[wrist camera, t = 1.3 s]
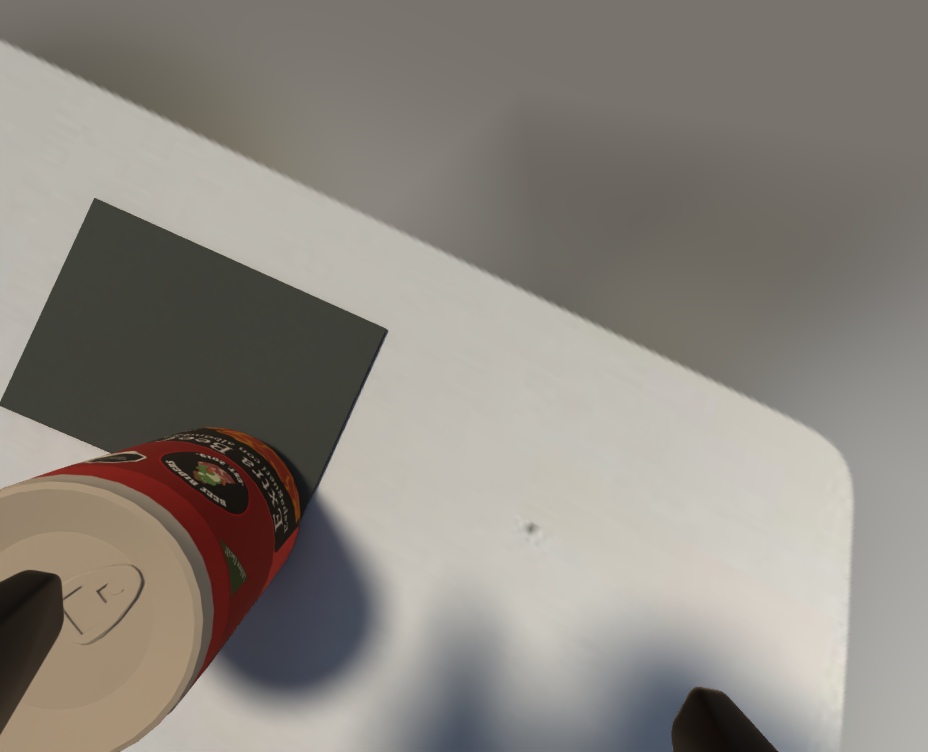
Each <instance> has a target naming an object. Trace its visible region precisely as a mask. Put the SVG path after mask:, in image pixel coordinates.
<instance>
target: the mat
mask: <svg viewBox="0 0 928 752" xmlns="http://www.w3.org/2000/svg"><path fill="white" fill-rule="evenodd" d="M385 331H386V329H385V328H383V327H381V326H379V325H377V324H374V323H372V322H370V321H368V320H365V319H363V318H361V317H359V316H357V315H354V314H352V313H350V312H348V311H345V310H343V309H341V308H339V307H336V306H334V305H332V304H330V303H328V302H325V301H323V300H321V299H319V298H316V297H314V296H312V295H310V294H308V293H305V292H303V291H301V290H299V289H296V288H294V287H292V286H290V285H287V284H285V283H283V282H281V281H279V280H276V279H274V278H272V277H270V276H267V275H265V274H263V273H261V272H259V271H256V270H254V269H252V268H250V267H247V266H245V265H243V264H241V263H238V262H236V261H234V260H232V259H230V258H227V257H225V256H223V255H221V254H218V253H216V252H214V251H212V250H210V249H207V248H205V247H203V246H201V245H198V244H196V243H194V242H192V241H189V240H187V239H185V238H183V237H181V236H178V235H176V234H174V233H172V232H169V231H167V230H165V229H163V228H161V227H158V226H156V225H154V224H152V223H149V222H147V221H145V220H143V219H140V218H138V217H136V216H134V215H132V214H129V213H127V212H125V211H123V210H120V209H118V208H116V207H114V206H112V205H109V204H107V203H105V202H103V201H100V200H98V199H96V198H94V200H93V202H92V204H91V207H90V209H89V211H88V213H87V215H86V217H85V220H84V222H83V224H82V226H81V228H80V230H79V233H78V235H77V237H76V239H75V241H74V243H73V246H72V248H71V250H70V252H69V254H68V256H67V259H66V261H65V263H64V265H63V267H62V269H61V272H60V274H59V276H58V278H57V280H56V282H55V285H54V287H53V289H52V291H51V293H50V295H49V298H48V300H47V302H46V304H45V306H44V308H43V311H42V313H41V315H40V317H39V319H38V321H37V324H36V326H35V328H34V330H33V332H32V334H31V337H30V339H29V341H28V343H27V345H26V347H25V350H24V352H23V354H22V356H21V358H20V360H19V362H18V365H17V367H16V369H15V371H14V373H13V375H12V378H11V380H10V382H9V384H8V386H7V388H6V391H5V393H4V395H3V397H2V399H1V401H0V406H2V407H4V408H6V409H9V410H11V411H13V412H16V413H18V414H20V415H23V416H25V417H28V418H30V419H32V420H35V421H37V422H39V423H42V424H44V425H46V426H49V427H51V428H53V429H56V430H58V431H60V432H63V433H65V434H67V435H70V436H72V437H74V438H77V439H79V440H81V441H84V442H86V443H88V444H91V445H93V446H95V447H98V448H100V449H102V450H105V451H107V452H109V453H114V452H117V451H120V450H124V449H127V448H130V447H134V446H137V445H140V444H144V443H147V442H150V441H153V440H157V439H160V438H163V437H167V436H170V435H173V434H176V433H180V432H183V431H186V430H190V429H198V428H205V427H213V428H227V429H231V430H235V431H239V432H243V433H245V434H247V435H249V436H251V437H253V438H255V439H257V440H259V441H261V442H263V443H264V444H265V445H267V446H268V447H269V448H271V449H272V450H273V451H275V452H276V454H277V455H278V456H279V457H280V458H281V459H282V460H283V461H284V463H285V464H286V466H287V467H288V469H289V471H290V473H291V474H292V476H293V479H294V482H295V485H296V488H297V491H298V495H299V504H300V520H301V518H302V516H303V514H304V511H305V509H306V507H307V505H308V503H309V500H310V498H311V496H312V494H313V491H314V489H315V487H316V485H317V483H318V480H319V478H320V476H321V474H322V471H323V469H324V467H325V465H326V463H327V460H328V458H329V456H330V454H331V451H332V449H333V447H334V445H335V443H336V440H337V438H338V436H339V434H340V431H341V429H342V427H343V425H344V423H345V420H346V418H347V416H348V414H349V411H350V409H351V407H352V405H353V403H354V400H355V398H356V396H357V394H358V391H359V389H360V387H361V385H362V383H363V380H364V378H365V376H366V374H367V371H368V369H369V367H370V365H371V363H372V360H373V358H374V356H375V354H376V351H377V349H378V347H379V345H380V343H381V340H382V338H383V336H384V334H385ZM299 523H300V521H299Z"/></svg>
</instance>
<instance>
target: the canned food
mask: <svg viewBox="0 0 928 752" xmlns="http://www.w3.org/2000/svg"><path fill="white" fill-rule="evenodd" d="M299 521H300V504H299V495H298V491H297V488H296V485H295V482H294V479H293V476H292V474H291V473H290V471H289V469H288V467H287V466H286V464H285V463H284V461H283V460H282V459H281V458H280V457H279V456H278V455H277V454H276V452H275V451H273V450H272V449H271V448H269V447H268V446H267V445H265V444H264V443H263V442H261V441H259V440H257V439H255V438H253V437H251V436H249V435H247V434H245V433H243V432H239V431H235V430H231V429H227V428H213V427H205V428H198V429H190V430H186V431H183V432H180V433H176V434H173V435H170V436H167V437H163V438H160V439H157V440H153V441H150V442H147V443H144V444H140V445H137V446H134V447H130V448H127V449H124V450H120V451H117V452H114V453H111V454H107V455H104V456H101V457H97V458H94V459H91V460H88V461H84V462H81V463H78V464H74V465H71V466H68V467H64V468H61V469H58V470H55V471H52V472H49V473H46V474H43V475H40V476H37V477H34V478H31V479H29V480H26V481H23V482H20V483H17V484H14V485H11V486H8V487H5V488H3V489H1V490H0V582H1V581H3V580H5V579H7V578H9V577H11V576H13V575H15V574H17V573H19V572H21V571H24V570H37V571H43V572H48V573H54V574H57V575H58V576H59V577H60V579H61V582H62V593H63V608H64V622H63V626H62V629H61V632H60V634H59V636H58V638H57V640H56V641H55V643H54V645H53V647H52V648H51V650H50V652H49V653H48V655H47V657H46V658H45V660H44V662H43V664H42V665H41V667H40V669H39V670H38V672H37V674H36V675H35V677H34V679H33V681H32V682H31V684H30V686H29V687H28V689H27V691H26V692H25V694H24V696H23V698H22V699H21V701H20V703H19V704H18V706H17V708H16V709H15V711H14V713H13V715H12V716H11V718H10V720H9V721H8V723H7V725H6V726H5V728H4V730H3V732H2V733H1V735H0V752H120V751H122V750H124V749H125V748H127V747H129V746H131V745H132V744H134V743H136V742H138V741H139V740H140V739H141V738H143V737H144V736H145V735H146V734H147V733H149V732H150V731H151V730H152V729H153V728H155V727H156V726H157V725H158V724H159V723H161V721H162V720H163V719H164V718H165V717H166V716H167V715H168V714H169V713H170V712H172V711H173V709H174V708H175V707H176V706H177V705H178V703H179V702H180V701H181V700H182V698H183V697H184V696H185V695H186V694H187V692H188V691H189V690H190V689H191V687H192V686H193V685H194V683H195V682H196V681H197V679H198V678H199V677H200V676H201V675H202V673H203V672H204V671H205V670H206V668H207V667H208V666H209V664H210V663H211V662H212V660H213V659H214V658H215V656H216V655H217V654H218V652H219V651H220V650H221V648H222V647H223V645H224V644H225V643H226V641H227V640H228V639H229V637H230V636H231V635H232V633H233V632H234V631H235V629H236V628H237V626H238V625H239V624H240V622H241V621H242V620H243V618H244V617H245V616H246V614H247V613H248V612H249V610H250V609H251V607H252V606H253V605H254V603H255V602H256V601H257V599H258V598H259V597H260V595H261V594H262V593H263V591H264V590H265V588H266V587H267V586H268V584H269V583H270V582H271V580H272V579H273V578H274V576H275V575H276V573H277V572H278V571H279V569H280V568H281V567H282V565H283V564H284V563H285V561H286V559H287V557H288V556H289V554H290V552H291V550H292V548H293V546H294V543H295V540H296V537H297V533H298V530H299Z"/></svg>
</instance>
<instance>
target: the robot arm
mask: <svg viewBox="0 0 928 752" xmlns="http://www.w3.org/2000/svg"><path fill="white" fill-rule="evenodd" d="M63 622H64V608H63V593H62V582H61V579H60V577H59V576H58V575H57V574H54V573H48V572H43V571H37V570H24V571H21V572H19V573H17V574H15V575H13V576H11V577H9V578H7V579H5V580H3V581H1V582H0V735H1V733H2V732H3V730H4V728H5V726H6V725H7V723H8V721H9V720H10V718H11V716H12V715H13V713H14V711H15V709H16V708H17V706H18V704H19V703H20V701H21V699H22V698H23V696H24V694H25V692H26V691H27V689H28V687H29V686H30V684H31V682H32V681H33V679H34V677H35V675H36V674H37V672H38V670H39V669H40V667H41V665H42V664H43V662H44V660H45V658H46V657H47V655H48V653H49V652H50V650H51V648H52V647H53V645H54V643H55V641H56V640H57V638H58V636H59V634H60V632H61V629H62V626H63ZM671 738H672V746H673V752H778V751H777V750H776V749H775V748H774V746H773V745H772V744H771V743H770V742H769V741H768V740H767V739H766V738H765V737H764V735H763V734H762V733H761V732H760V731H759V730H758V729H757V728H756V727H755V726H754V724H753V723H752V722H751V721H750V720H749V719H748V718H747V717H746V716H745V715H744V713H743V712H742V711H741V710H740V709H739V708H738V707H737V706H736V705H735V704H734V702H733V701H732V700H731V699H730V698H729V697H728V696H727V695H726V694H725V693H723V692H721V691H719V690H715V689H709V688H703V687H695V688H693V689H692V690H691V691H690V692H689V694H688V696H687V698H686V700H685V701H684V703H683V705H682V707H681V709H680V710H679V712H678V714H677V716H676V718H675V719H674V722H673V725H672V732H671Z"/></svg>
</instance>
